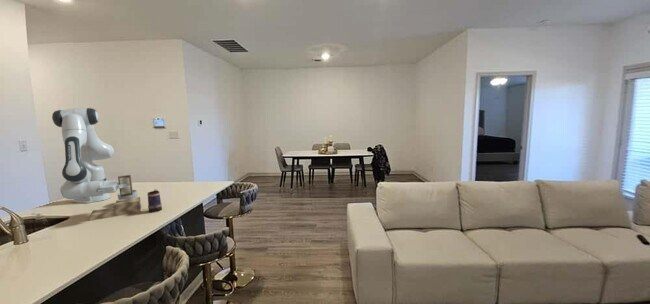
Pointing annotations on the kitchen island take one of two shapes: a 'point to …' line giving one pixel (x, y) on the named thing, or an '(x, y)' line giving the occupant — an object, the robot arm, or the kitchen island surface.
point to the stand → (118, 209)
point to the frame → (127, 180)
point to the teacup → (128, 196)
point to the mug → (154, 201)
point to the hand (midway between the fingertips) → (127, 184)
